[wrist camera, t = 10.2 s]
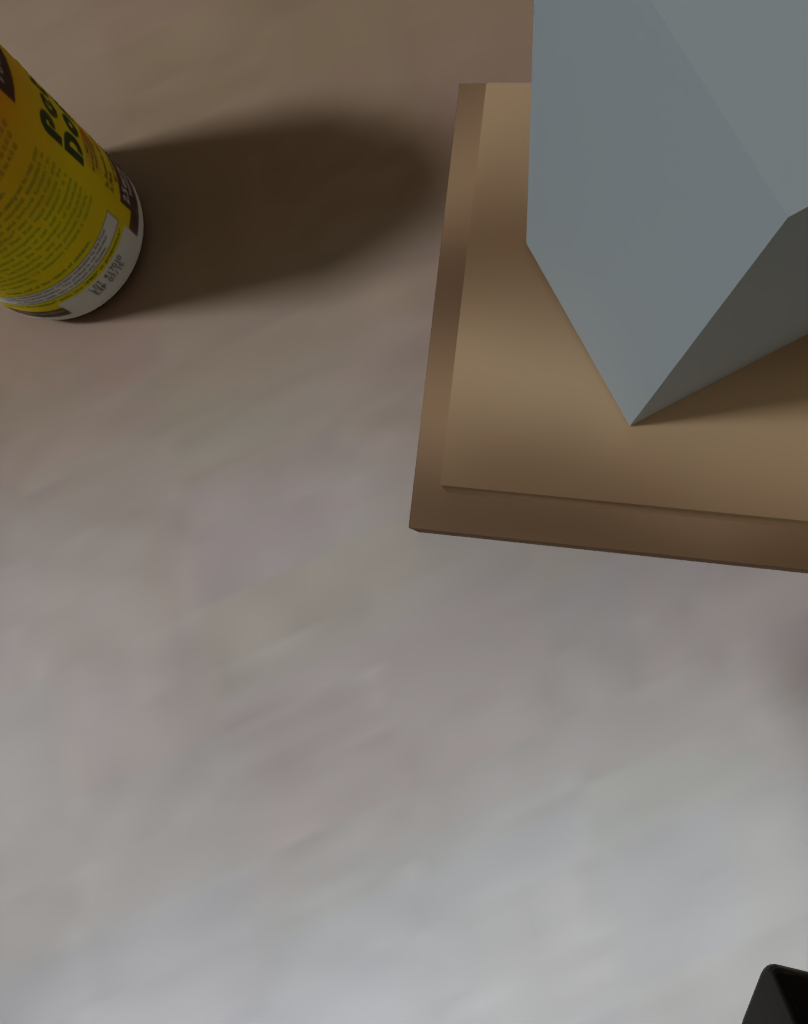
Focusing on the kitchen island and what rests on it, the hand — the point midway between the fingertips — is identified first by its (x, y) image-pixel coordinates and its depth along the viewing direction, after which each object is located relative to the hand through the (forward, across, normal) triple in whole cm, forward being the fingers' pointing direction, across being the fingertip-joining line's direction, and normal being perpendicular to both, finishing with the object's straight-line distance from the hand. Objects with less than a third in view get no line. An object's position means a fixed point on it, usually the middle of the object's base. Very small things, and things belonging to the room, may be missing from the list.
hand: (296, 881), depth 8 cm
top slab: (+14, -5, -5) cm, 16 cm away
